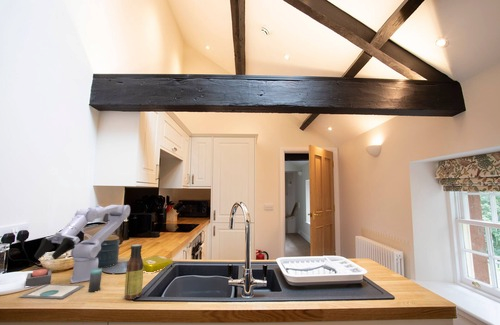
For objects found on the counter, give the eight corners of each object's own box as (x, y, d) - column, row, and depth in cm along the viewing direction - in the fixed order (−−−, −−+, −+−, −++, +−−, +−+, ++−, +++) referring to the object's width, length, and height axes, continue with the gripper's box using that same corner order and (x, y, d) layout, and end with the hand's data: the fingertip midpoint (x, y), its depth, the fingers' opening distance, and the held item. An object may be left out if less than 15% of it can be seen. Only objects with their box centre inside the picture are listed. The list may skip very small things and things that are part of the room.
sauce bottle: (144, 295, 92) (149, 244, 95) (132, 301, 87) (137, 247, 89) (132, 292, 95) (137, 242, 97) (119, 298, 89) (125, 245, 91)
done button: (46, 275, 104) (47, 268, 104) (46, 278, 100) (47, 271, 101) (31, 277, 101) (33, 270, 101) (31, 280, 97) (32, 273, 98)
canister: (113, 267, 123) (116, 233, 125) (86, 268, 120) (90, 233, 122) (121, 260, 135) (124, 230, 138) (96, 261, 133) (100, 229, 135)
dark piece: (99, 287, 98) (101, 267, 99) (100, 290, 95) (102, 270, 96) (87, 289, 95) (90, 269, 96) (88, 293, 92) (91, 272, 93)
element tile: (173, 267, 128) (174, 258, 129) (149, 275, 115) (150, 265, 116) (156, 262, 136) (157, 254, 137) (132, 268, 123) (133, 259, 124)
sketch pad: (19, 297, 86) (20, 296, 86) (47, 285, 98) (47, 283, 98) (62, 299, 86) (62, 297, 86) (84, 286, 98) (84, 285, 98)
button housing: (50, 278, 106) (51, 270, 106) (50, 283, 100) (51, 275, 100) (26, 281, 101) (27, 273, 101) (24, 287, 95) (26, 279, 95)
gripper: (51, 224, 98) (22, 250, 86) (82, 223, 96) (56, 250, 85) (59, 235, 102) (32, 262, 90) (89, 235, 100) (65, 262, 88)
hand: (44, 257), depth 88 cm, fingers open, 7 cm apart
